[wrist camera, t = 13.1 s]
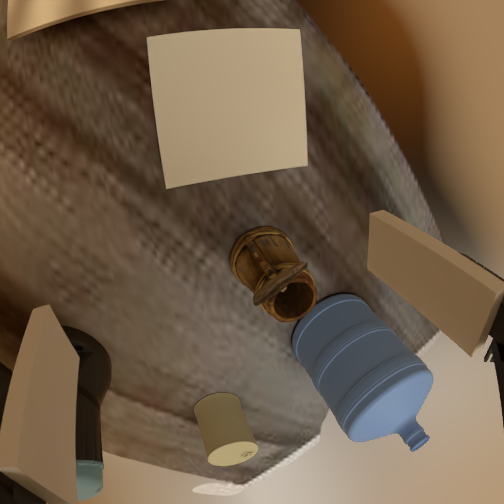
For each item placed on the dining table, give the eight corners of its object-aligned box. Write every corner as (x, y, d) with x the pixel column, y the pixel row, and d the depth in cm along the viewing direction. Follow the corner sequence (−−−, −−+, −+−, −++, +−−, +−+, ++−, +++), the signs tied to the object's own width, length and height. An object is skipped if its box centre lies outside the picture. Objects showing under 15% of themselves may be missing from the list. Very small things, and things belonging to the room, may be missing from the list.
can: (231, 419, 61) (248, 466, 50) (188, 419, 57) (202, 469, 47) (246, 392, 58) (267, 441, 47) (200, 391, 54) (216, 445, 44)
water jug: (277, 323, 52) (368, 466, 28) (357, 275, 53) (472, 386, 29) (303, 371, 60) (375, 485, 36) (369, 329, 61) (455, 427, 37)
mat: (165, 187, 36) (166, 189, 36) (146, 38, 28) (146, 37, 27) (305, 164, 41) (307, 165, 40) (297, 30, 32) (299, 29, 32)
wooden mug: (253, 186, 40) (327, 248, 25) (300, 258, 47) (371, 334, 32) (196, 229, 40) (235, 317, 25) (252, 294, 47) (305, 384, 32)
